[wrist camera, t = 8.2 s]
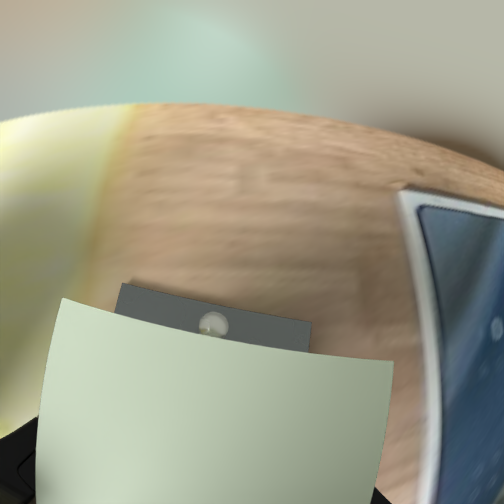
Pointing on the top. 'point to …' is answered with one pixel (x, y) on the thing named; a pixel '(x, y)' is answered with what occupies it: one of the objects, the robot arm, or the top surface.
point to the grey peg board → (213, 319)
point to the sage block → (202, 418)
